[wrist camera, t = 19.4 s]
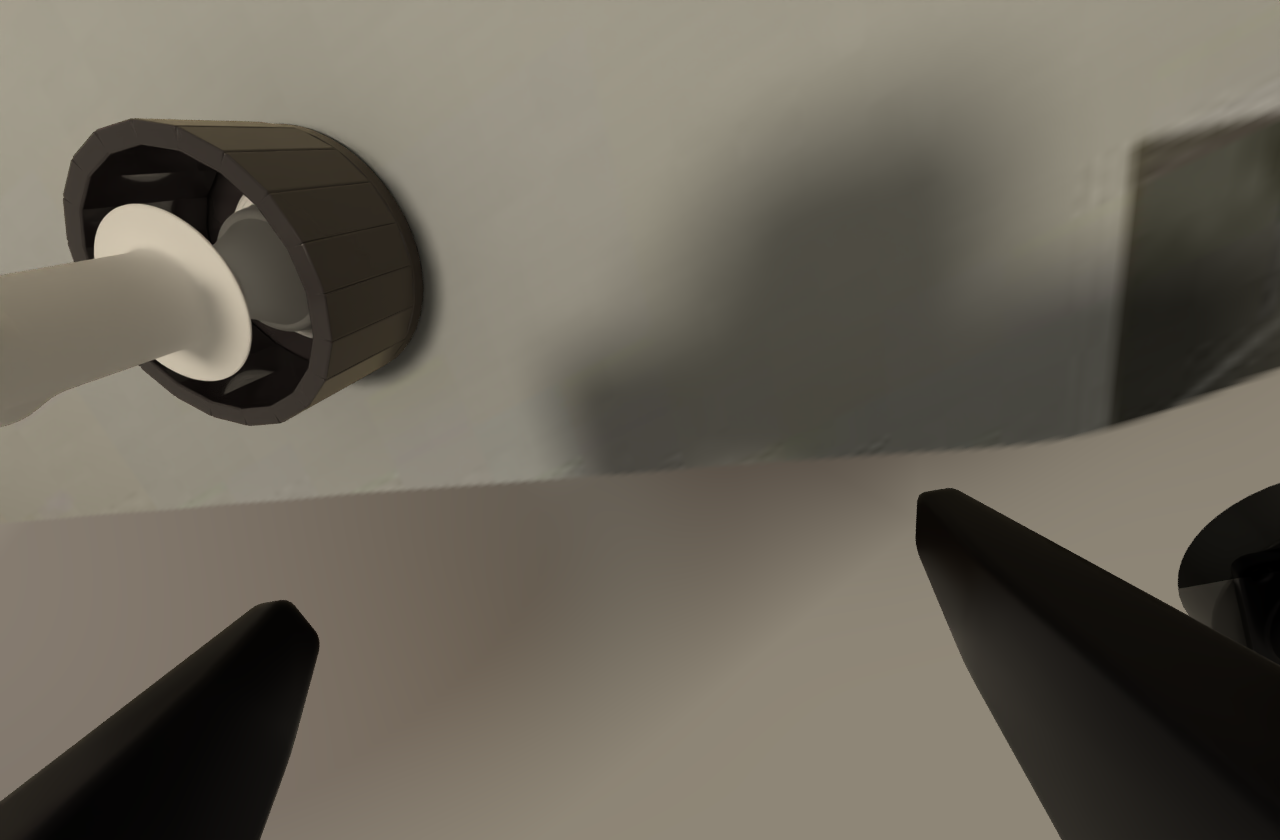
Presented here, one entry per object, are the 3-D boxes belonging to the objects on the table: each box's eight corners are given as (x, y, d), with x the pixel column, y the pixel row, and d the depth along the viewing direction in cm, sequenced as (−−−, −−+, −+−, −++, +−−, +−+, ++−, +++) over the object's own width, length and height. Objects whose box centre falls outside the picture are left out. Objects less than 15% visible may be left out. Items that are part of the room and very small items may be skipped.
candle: (402, 327, 19) (-60, 552, 9) (284, 348, 21) (-223, 558, 10) (335, 158, 17) (-374, 193, 7) (210, 196, 19) (-517, 271, 8)
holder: (469, 317, 19) (386, 363, 15) (316, 403, 23) (216, 459, 19) (311, 65, 17) (165, 44, 13) (166, 205, 20) (15, 222, 16)
